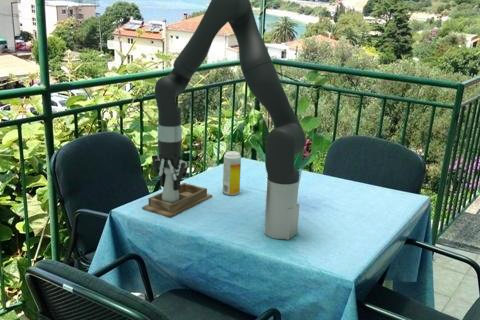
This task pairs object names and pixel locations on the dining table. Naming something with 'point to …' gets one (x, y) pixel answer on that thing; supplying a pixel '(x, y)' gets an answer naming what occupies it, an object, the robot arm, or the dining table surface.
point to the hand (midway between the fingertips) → (170, 187)
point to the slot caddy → (187, 200)
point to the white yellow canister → (231, 173)
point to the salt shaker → (169, 188)
